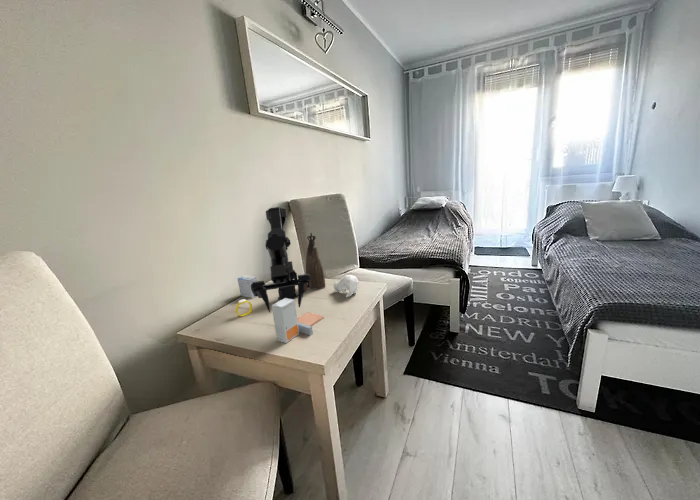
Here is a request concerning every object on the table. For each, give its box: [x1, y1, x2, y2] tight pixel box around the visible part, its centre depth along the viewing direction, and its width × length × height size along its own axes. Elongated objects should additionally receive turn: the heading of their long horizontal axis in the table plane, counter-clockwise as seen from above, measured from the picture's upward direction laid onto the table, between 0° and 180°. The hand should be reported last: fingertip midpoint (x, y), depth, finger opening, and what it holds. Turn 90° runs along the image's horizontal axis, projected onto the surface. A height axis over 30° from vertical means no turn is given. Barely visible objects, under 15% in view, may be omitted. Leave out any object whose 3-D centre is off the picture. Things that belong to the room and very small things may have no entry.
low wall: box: [298, 322, 314, 336], centre depth 96 cm, size 1×14×2 cm, turn 52°
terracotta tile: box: [297, 311, 325, 327], centre depth 101 cm, size 8×8×1 cm
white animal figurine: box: [333, 274, 360, 298], centre depth 121 cm, size 6×8×12 cm
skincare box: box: [271, 298, 300, 344], centre depth 90 cm, size 6×4×12 cm
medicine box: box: [237, 274, 258, 299], centre depth 130 cm, size 8×4×9 cm, turn 58°
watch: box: [235, 298, 253, 317], centre depth 111 cm, size 6×3×6 cm, turn 133°
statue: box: [305, 232, 326, 290], centre depth 131 cm, size 9×8×25 cm
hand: (284, 309), depth 91 cm, fingers open, 9 cm apart
